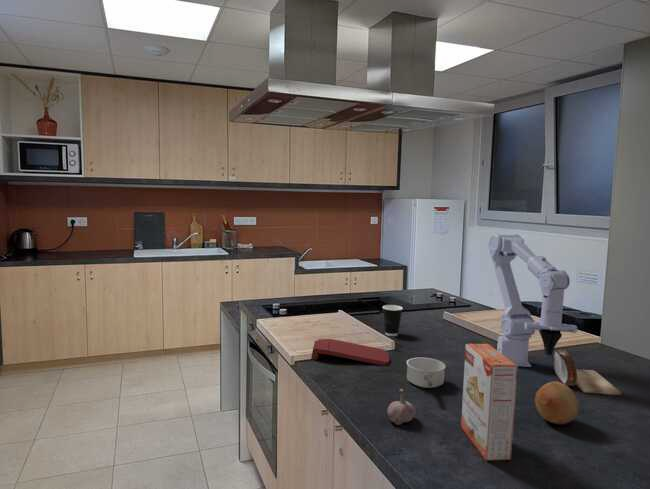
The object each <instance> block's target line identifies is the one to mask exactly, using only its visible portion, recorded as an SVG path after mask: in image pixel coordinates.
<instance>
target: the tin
mask: <svg viewBox="0 0 650 489" xmlns="http://www.w3.org/2000/svg"><path fill="white" fill-rule="evenodd" d="M576 369H577V365H576V362H575V359H574V358H573V357H572V356H571V354H569V353H568V352H567V350H565V349H556V350H554V351H553V370H554V372H555V375H556V377H558V379H559V380H560V382H561V383H563V384H565V385H566V386H568V387H575V386H577V385H576V381H577V370H576Z"/></svg>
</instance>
